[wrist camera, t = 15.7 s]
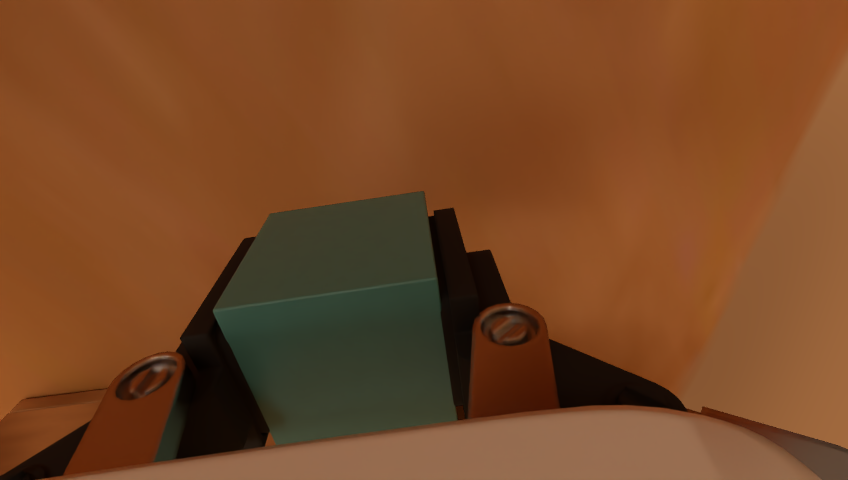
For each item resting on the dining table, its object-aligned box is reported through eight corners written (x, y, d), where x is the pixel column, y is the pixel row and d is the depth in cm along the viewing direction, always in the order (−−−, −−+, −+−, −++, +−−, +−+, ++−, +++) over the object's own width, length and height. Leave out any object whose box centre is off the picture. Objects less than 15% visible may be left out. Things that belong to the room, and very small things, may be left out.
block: (269, 213, 11) (210, 310, 8) (424, 190, 11) (437, 278, 7) (310, 331, 13) (278, 453, 9) (441, 312, 13) (459, 428, 9)
